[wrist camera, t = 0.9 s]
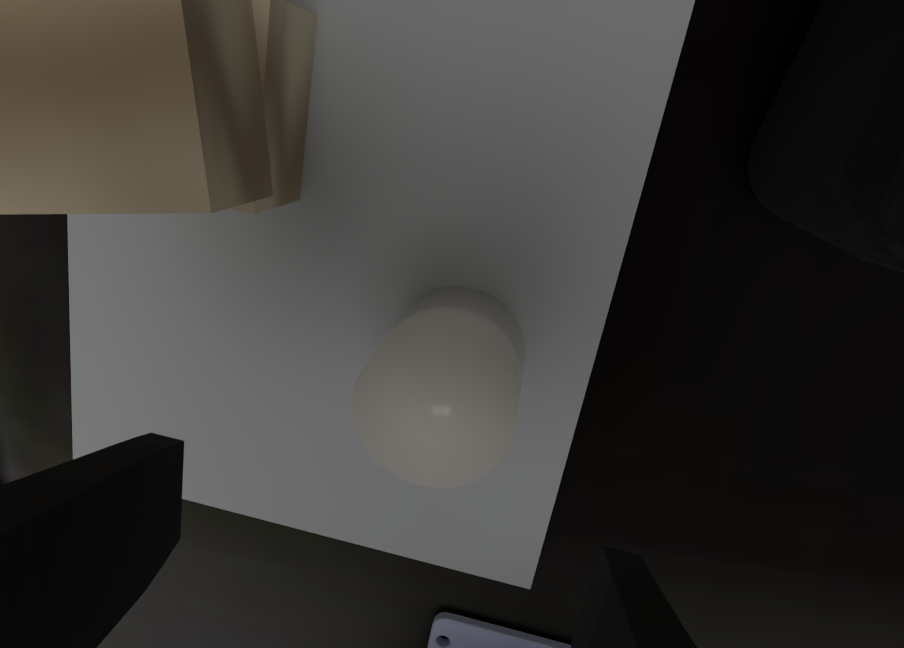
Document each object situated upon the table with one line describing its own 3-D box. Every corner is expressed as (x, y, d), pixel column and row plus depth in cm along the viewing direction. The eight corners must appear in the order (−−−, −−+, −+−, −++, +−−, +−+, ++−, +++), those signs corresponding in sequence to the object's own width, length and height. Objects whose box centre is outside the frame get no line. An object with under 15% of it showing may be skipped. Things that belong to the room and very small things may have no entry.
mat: (530, 581, 22) (530, 589, 22) (81, 464, 24) (73, 470, 23) (712, -70, 15) (716, -75, 15) (69, -175, 17) (58, -182, 17)
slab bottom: (299, 199, 19) (253, 214, 16) (141, 166, 19) (70, 175, 16) (317, 15, 17) (270, -5, 14) (145, -17, 17) (65, -42, 15)
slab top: (273, 195, 16) (211, 213, 13) (91, 197, 16) (-5, 213, 14) (247, -32, 14) (171, -70, 11) (48, -19, 15) (-71, -50, 12)
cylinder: (509, 422, 20) (497, 504, 16) (386, 393, 20) (341, 465, 16) (538, 302, 19) (533, 357, 14) (406, 273, 19) (363, 318, 15)
